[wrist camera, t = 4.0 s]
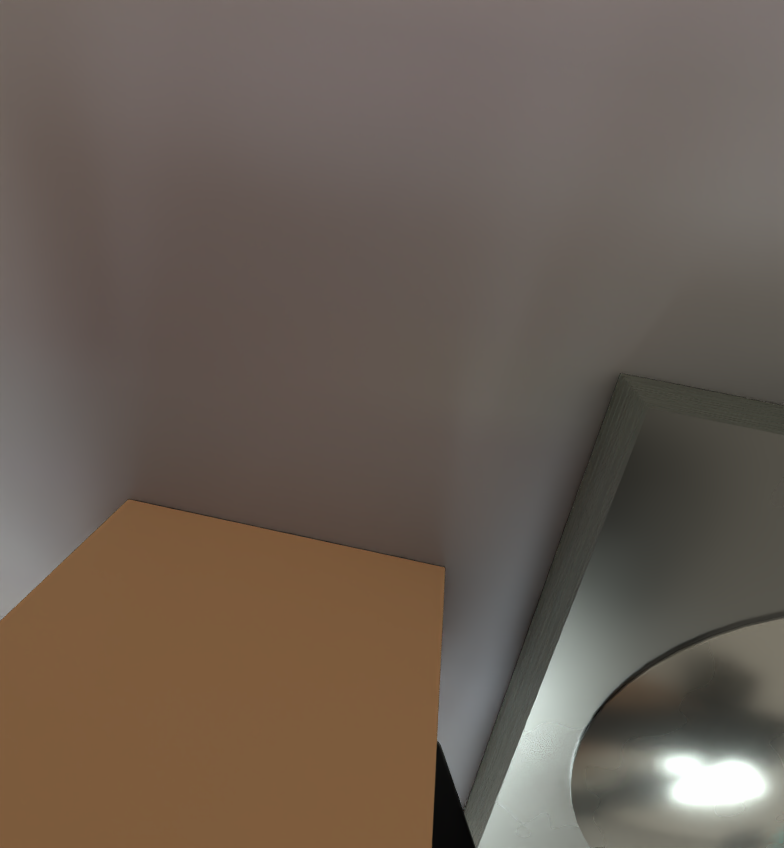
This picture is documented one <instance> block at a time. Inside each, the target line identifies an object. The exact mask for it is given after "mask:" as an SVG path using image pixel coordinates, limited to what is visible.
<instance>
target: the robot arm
mask: <svg viewBox="0 0 784 848" xmlns="http://www.w3.org/2000/svg"><path fill="white" fill-rule="evenodd" d="M432 848H476V847H475V844H474V841H473V838H472V835H471V832H470V829H469V826H468V823H467V820H466V817H465V814H464V811H463V809H462V806H461V803H460V800H459V797H458V794H457V791H456V788H455V785H454V782H453V779H452V776H451V774H450V771H449V768H448V765H447V762H446V759H445V756H444V753H443V750H442V747H441V745H440V743H439V742H438V741H437V749H436V770H435V791H434V812H433V833H432Z"/></svg>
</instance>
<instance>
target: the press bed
mask: <svg viewBox="0 0 784 848" xmlns="http://www.w3.org/2000/svg"><path fill="white" fill-rule="evenodd" d="M464 814H465V817H466V820H467V823H468V826H469V829H470V832H471V835H472V838H473V841H474V844H475V847H476V848H784V406H783V405H778V404H773V403H768V402H763V401H758V400H753V399H748V398H743V397H738V396H733V395H728V394H723V393H718V392H713V391H708V390H703V389H698V388H693V387H688V386H683V385H678V384H673V383H668V382H663V381H658V380H653V379H648V378H643V377H638V376H633V375H628V374H623V373H620V375H619V378H618V381H617V384H616V387H615V389H614V392H613V395H612V398H611V401H610V403H609V406H608V409H607V412H606V415H605V417H604V420H603V423H602V426H601V429H600V431H599V434H598V437H597V440H596V443H595V445H594V448H593V451H592V454H591V457H590V459H589V462H588V465H587V468H586V471H585V473H584V476H583V479H582V482H581V485H580V487H579V490H578V493H577V496H576V499H575V501H574V504H573V507H572V510H571V513H570V515H569V518H568V521H567V524H566V527H565V530H564V532H563V535H562V538H561V541H560V544H559V546H558V549H557V552H556V555H555V558H554V560H553V563H552V566H551V569H550V572H549V574H548V577H547V580H546V583H545V586H544V588H543V591H542V594H541V597H540V600H539V602H538V605H537V608H536V611H535V614H534V616H533V619H532V622H531V625H530V628H529V630H528V633H527V636H526V639H525V642H524V644H523V647H522V650H521V653H520V656H519V658H518V661H517V664H516V667H515V670H514V672H513V675H512V678H511V681H510V684H509V687H508V689H507V692H506V695H505V698H504V701H503V703H502V706H501V709H500V712H499V715H498V717H497V720H496V723H495V726H494V729H493V731H492V734H491V737H490V740H489V743H488V745H487V748H486V751H485V754H484V757H483V759H482V762H481V765H480V768H479V771H478V773H477V776H476V779H475V782H474V785H473V787H472V790H471V793H470V796H469V799H468V801H467V804H466V807H465V810H464Z"/></svg>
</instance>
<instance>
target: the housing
mask: <svg viewBox="0 0 784 848" xmlns="http://www.w3.org/2000/svg"><path fill="white" fill-rule="evenodd" d="M444 583H445V567H440V566H436V565H431V564H426V563H422V562H417V561H413V560H408V559H403V558H399V557H394V556H389V555H385V554H380V553H375V552H371V551H366V550H361V549H357V548H352V547H348V546H343V545H338V544H334V543H329V542H324V541H320V540H315V539H310V538H306V537H301V536H296V535H292V534H287V533H283V532H278V531H273V530H269V529H264V528H259V527H255V526H250V525H245V524H241V523H236V522H231V521H227V520H222V519H218V518H213V517H208V516H204V515H199V514H194V513H190V512H185V511H180V510H176V509H171V508H166V507H162V506H157V505H152V504H148V503H143V502H139V501H134V500H129V499H128V500H127V501H126V502H125V503H124V504H123V505H122V506H121V507H120V508H119V509H118V510H117V511H116V512H115V513H113V514H112V515H111V516H110V517H109V518H108V519H107V520H106V521H105V522H104V523H103V524H102V525H101V526H100V527H99V528H98V529H97V530H96V531H94V532H93V533H92V534H91V535H90V536H89V537H88V538H87V539H86V540H85V541H84V542H83V543H82V544H81V545H80V546H79V547H78V548H77V549H76V550H74V551H73V552H72V553H71V554H70V555H69V556H68V557H67V558H66V559H65V560H64V561H63V562H62V563H61V564H60V565H59V566H58V567H57V568H56V569H54V570H53V571H52V572H51V573H50V574H49V575H48V576H47V577H46V578H45V579H44V580H43V581H42V582H41V583H40V584H39V585H38V586H37V587H36V588H34V589H33V590H32V591H31V592H30V593H29V594H28V595H27V596H26V597H25V598H24V599H23V600H22V601H21V602H20V603H19V604H18V605H17V606H16V607H14V608H13V609H12V610H11V611H10V612H9V613H8V614H7V615H6V616H5V617H4V618H3V619H2V620H1V621H0V848H432V833H433V812H434V791H435V770H436V749H437V729H438V708H439V687H440V666H441V646H442V625H443V604H444Z"/></svg>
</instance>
